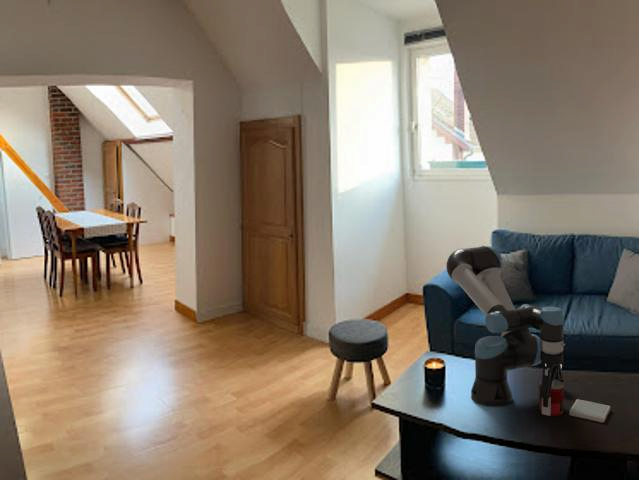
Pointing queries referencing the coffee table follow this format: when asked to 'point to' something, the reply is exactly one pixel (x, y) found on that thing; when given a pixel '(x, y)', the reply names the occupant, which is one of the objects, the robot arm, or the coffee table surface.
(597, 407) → the tray
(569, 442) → the coffee table surface
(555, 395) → the canned food
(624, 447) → the coffee table surface
